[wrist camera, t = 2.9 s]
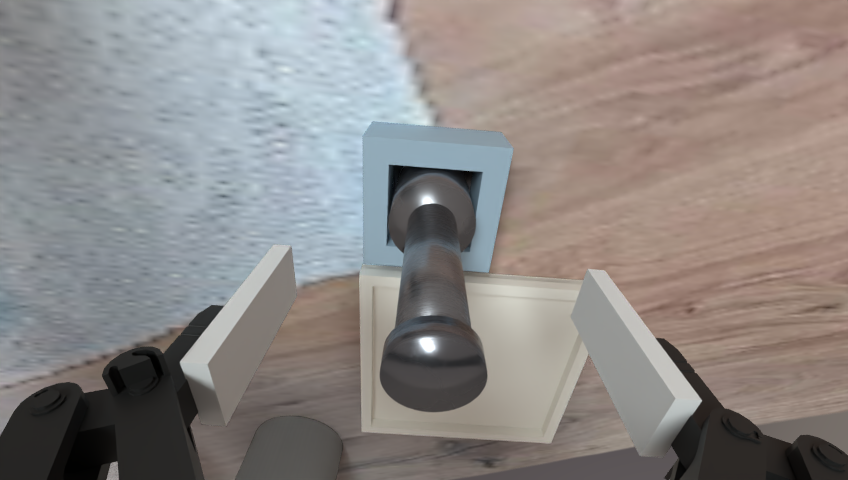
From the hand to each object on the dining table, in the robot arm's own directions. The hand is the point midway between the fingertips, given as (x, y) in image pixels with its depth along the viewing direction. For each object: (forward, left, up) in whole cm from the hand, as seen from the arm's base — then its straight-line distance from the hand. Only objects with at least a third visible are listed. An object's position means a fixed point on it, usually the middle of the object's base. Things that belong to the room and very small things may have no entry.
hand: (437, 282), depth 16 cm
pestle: (0, 0, -11) cm, 11 cm away
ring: (0, 0, -11) cm, 11 cm away
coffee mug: (+33, -14, -11) cm, 37 cm away
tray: (+17, +5, -11) cm, 21 cm away
